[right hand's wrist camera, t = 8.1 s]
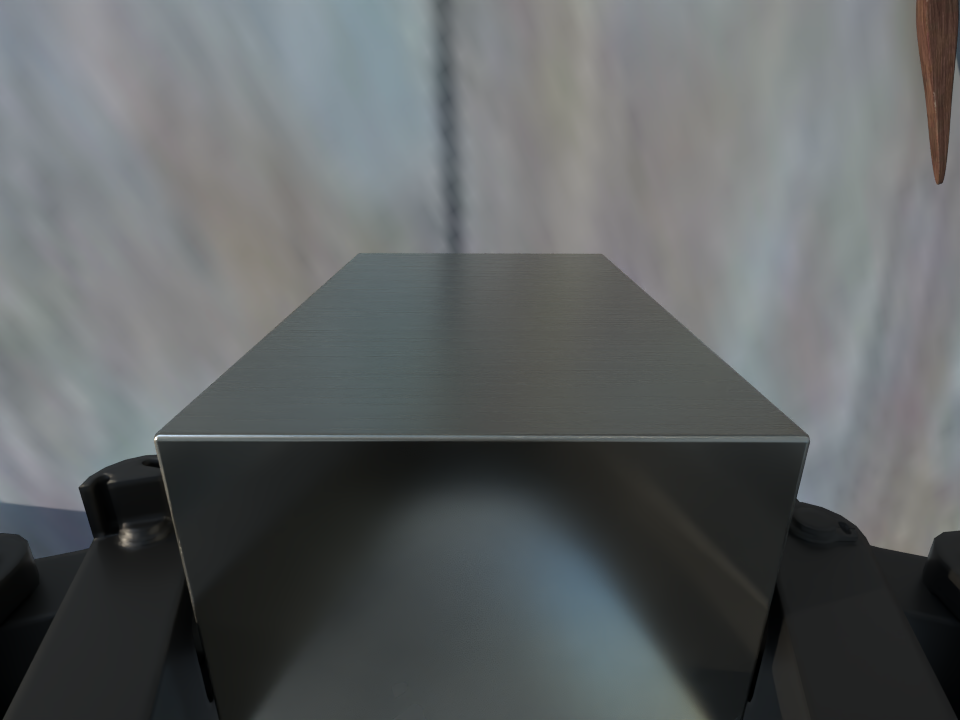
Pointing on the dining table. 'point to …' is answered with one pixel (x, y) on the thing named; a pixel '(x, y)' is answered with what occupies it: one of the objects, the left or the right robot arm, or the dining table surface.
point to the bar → (481, 502)
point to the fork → (938, 71)
